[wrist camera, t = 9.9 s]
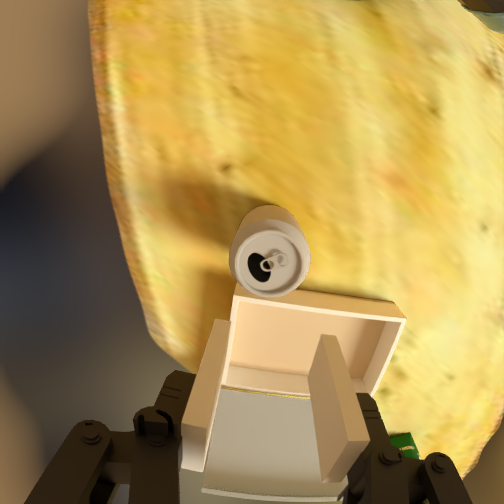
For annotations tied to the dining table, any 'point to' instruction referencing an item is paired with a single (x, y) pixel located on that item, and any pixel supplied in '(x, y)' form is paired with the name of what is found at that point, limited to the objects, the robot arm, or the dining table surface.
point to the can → (269, 252)
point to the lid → (265, 450)
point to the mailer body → (307, 339)
